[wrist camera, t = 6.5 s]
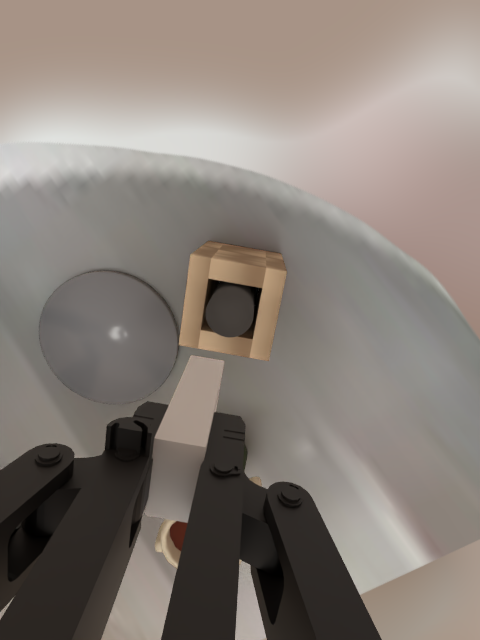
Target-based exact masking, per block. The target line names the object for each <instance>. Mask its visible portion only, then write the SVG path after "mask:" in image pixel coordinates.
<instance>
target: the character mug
mask: <svg viewBox="0 0 480 640" xmlns="http://www.w3.org/2000/svg"><path fill="white" fill-rule="evenodd" d="M246 459H247V449H246V447H245V445H244V456H243V470H245V465H246ZM250 480H251V481H252V482H254V483H255V484H257V485H259V486H261V487H262V484H261V480H260V478H259V477H252V478H250ZM186 528H187V523H186V522H180V521H174V520H168V519H165V520H164V522H163V523H162V524H161V526H160V529H159V532H158V535H157V539H156V542H155V549H156V551H157V552H163V554H164V555H165V557H166V559H167V561H168V562H169V563H170V564H171V565H173V566H174V567H175V568H176V569H177V567H178V563H179V558H180V554H181V550H182V545H183V541H184V536H185V532H186ZM241 561H242V560H240V559H239V565H240V563H241Z"/></svg>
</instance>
